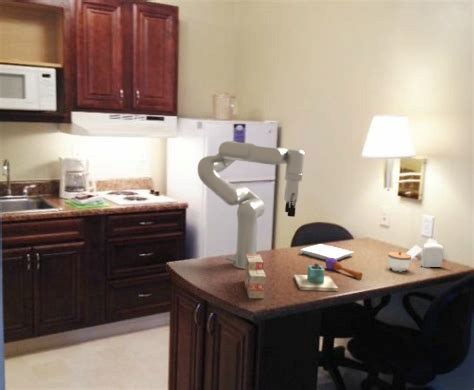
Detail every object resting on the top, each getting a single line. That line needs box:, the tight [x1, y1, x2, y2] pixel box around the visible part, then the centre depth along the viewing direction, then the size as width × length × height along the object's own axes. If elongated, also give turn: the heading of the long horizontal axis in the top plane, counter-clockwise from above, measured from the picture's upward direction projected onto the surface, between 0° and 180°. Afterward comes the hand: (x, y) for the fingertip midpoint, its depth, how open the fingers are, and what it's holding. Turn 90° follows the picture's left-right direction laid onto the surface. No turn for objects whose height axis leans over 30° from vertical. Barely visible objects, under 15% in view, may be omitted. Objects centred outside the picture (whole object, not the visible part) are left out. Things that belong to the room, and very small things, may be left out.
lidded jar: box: [387, 251, 412, 273], centre depth 246 cm, size 11×11×9 cm
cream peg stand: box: [293, 262, 339, 292], centre depth 216 cm, size 16×16×10 cm
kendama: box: [325, 258, 363, 280], centre depth 236 cm, size 6×6×20 cm
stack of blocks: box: [243, 253, 267, 299], centre depth 205 cm, size 21×6×12 cm, turn 4°
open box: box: [306, 264, 326, 284], centre depth 216 cm, size 6×6×6 cm
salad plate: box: [300, 243, 355, 261], centre depth 266 cm, size 21×21×3 cm
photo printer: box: [420, 242, 444, 268], centre depth 255 cm, size 10×4×12 cm, turn 89°
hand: (289, 214), depth 228 cm, fingers open, 9 cm apart
